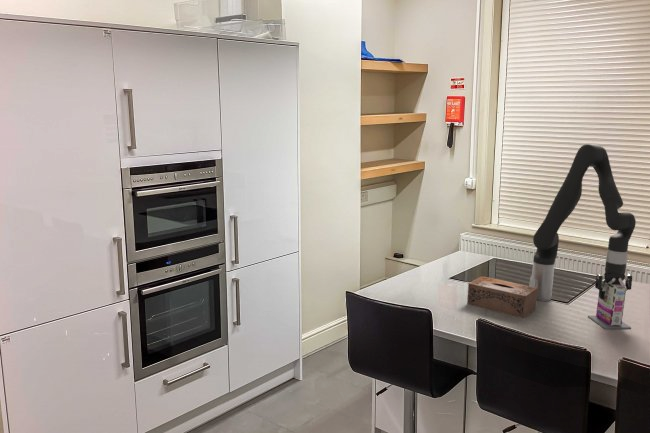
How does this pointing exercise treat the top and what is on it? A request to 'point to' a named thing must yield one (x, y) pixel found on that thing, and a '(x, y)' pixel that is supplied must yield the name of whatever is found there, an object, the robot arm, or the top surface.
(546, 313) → the top surface
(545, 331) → the top surface
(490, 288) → the tissue box cover
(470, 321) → the top surface
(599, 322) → the coaster
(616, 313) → the candy bar box
